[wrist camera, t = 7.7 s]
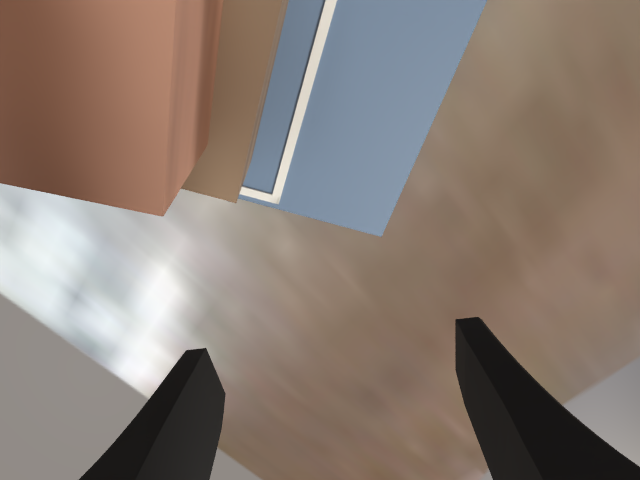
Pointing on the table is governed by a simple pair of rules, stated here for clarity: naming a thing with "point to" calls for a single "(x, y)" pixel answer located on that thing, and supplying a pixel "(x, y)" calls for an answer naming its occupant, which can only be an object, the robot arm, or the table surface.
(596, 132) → the table surface
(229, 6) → the walnut slab
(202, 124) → the terracotta cube
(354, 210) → the board
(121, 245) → the table surface
